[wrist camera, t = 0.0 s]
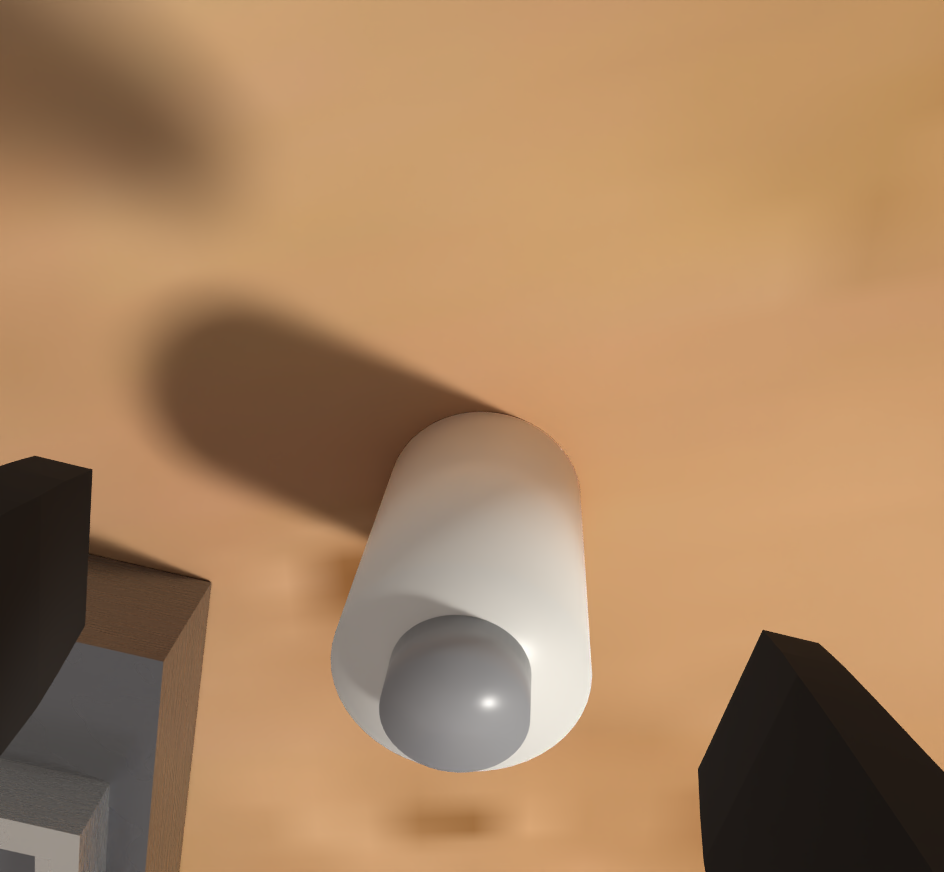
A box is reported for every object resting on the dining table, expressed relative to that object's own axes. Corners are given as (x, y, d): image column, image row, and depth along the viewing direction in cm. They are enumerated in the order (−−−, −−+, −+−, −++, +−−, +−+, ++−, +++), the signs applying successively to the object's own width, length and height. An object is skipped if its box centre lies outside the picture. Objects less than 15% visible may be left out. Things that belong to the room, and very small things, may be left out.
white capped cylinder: (552, 598, 21) (553, 841, 15) (374, 556, 21) (299, 784, 15) (603, 437, 19) (630, 638, 13) (408, 391, 19) (339, 570, 13)
